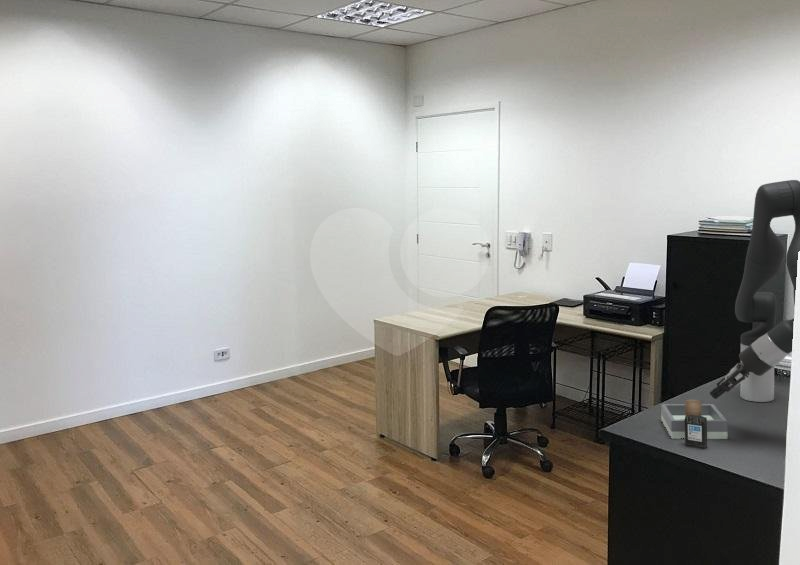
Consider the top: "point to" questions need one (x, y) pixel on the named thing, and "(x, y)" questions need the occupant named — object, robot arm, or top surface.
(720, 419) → the socket box
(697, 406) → the peg
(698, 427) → the ink cartridge
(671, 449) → the top surface
